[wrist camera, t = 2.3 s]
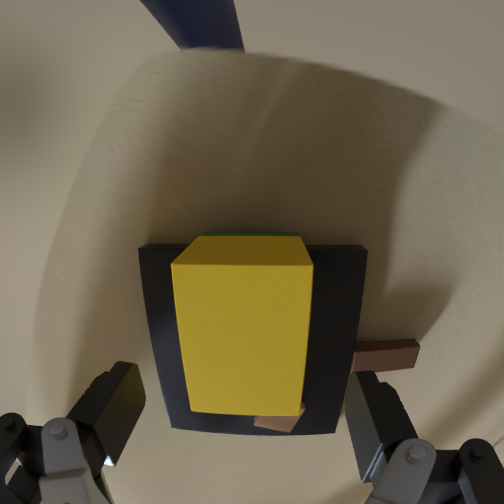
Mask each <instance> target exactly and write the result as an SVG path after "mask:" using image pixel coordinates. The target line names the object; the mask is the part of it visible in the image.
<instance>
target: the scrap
mask: <svg viewBox="0 0 504 504" xmlns="http://www.w3.org/2000/svg"><path fill="white" fill-rule="evenodd" d="M304 410H305V404H304V402H301V408H300V414H299V415H290V416H263V415H256V416H255V418H254V425H255V426H260V427H264V428H269V429H273V430H278V431H284V432H289V433H290V432H291V430H292V429H293V427H294V426H295V424H296V423H297V421H298V420H299V418H300V416H301V415H302V413H303V412H304Z"/></svg>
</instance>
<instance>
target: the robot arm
mask: <svg viewBox="0 0 504 504" xmlns="http://www.w3.org/2000/svg"><path fill="white" fill-rule="evenodd" d="M145 402H146V395H145V390H144V387H143V383H142V379H141V375H140V371H139V368H138V365H137V364H135V363H128V362H122V361H117V362H116V363H115V364H114V366H113V367H112V368H111V370H110V371H109V372H107V371H105V372H104V373H102V374H101V375H99V376H98V377H96V378H95V379H94V381H93V382H92V383H91V384H90V387H89V388H87V390H86V391H85V392H84V394H83V395H82V396H81V398H80V399H79V400H78V402H77V403H76V404H75V406H74V407H73V408H72V410H71V411H70V412H69V414H68V415H67V416H66V418H54V419H52V420H50V421H48V422H47V423H46V424H45V425H44V426H33V425H27V424H26V422H25V421H24V419H23V417H22V416H21V415H19V414H17V413H7V414H4V415H2V416H1V417H0V504H40V503H41V501H42V502H43V504H114V501H113V499H112V496H111V493H110V491H109V488H108V485H107V482H106V480H105V477H104V474H103V471H102V470H101V469H102V467H103V465H104V464H108V465H111V466H114V467H115V466H116V463H117V461H118V459H119V457H120V455H121V453H122V451H123V449H124V447H125V445H126V443H127V441H128V439H129V437H130V435H131V433H132V431H133V429H134V427H135V425H136V423H137V421H138V419H139V417H140V415H141V413H142V411H143V409H144V406H145ZM345 416H346V420H347V424H348V428H349V432H350V436H351V440H352V444H353V448H354V452H355V456H356V460H357V465H358V469H359V473H360V477H361V482H362V483H367V482H372V484H373V488H374V489H373V490H372V492H371V494H370V495H369V497H368V498H367V500H366V501H365V503H364V504H504V468H503V466H502V464H501V462H500V460H499V458H498V456H497V454H496V452H495V451H494V449H493V447H492V446H491V444H490V443H488V442H487V441H485V440H483V439H478V438H474V439H470V440H467V441H466V442H464V443H463V445H462V446H461V447H460V449H459V450H436V449H435V448H434V447H433V445H432V444H431V443H429V442H428V441H426V440H423V439H419V438H418V436H417V433H416V431H415V429H414V427H413V425H412V423H411V421H410V419H409V416H408V414H407V412H406V410H405V409H404V406H403V404H402V402H401V401H400V398H399V396H398V394H397V392H396V390H395V389H394V388H393V387H392V386H390V385H389V384H388V383H387V382H380V383H379V381H378V379H377V376H376V374H375V372H374V371H373V370H368V371H356V372H353V373H352V375H351V379H350V384H349V389H348V393H347V397H346V402H345ZM15 460H17V461H18V463H19V464H20V465H19V466H18V468H17V470H16V471H15V473H14V474H13V476H12V478H11V480H10V481H9V483H8V485H7V486H6V484H5V476H6V474H7V472H8V471H9V469H10V467H11V466H12V464H13V463H14V461H15Z"/></svg>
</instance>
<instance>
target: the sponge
mask: <svg viewBox="0 0 504 504" xmlns="http://www.w3.org/2000/svg"><path fill="white" fill-rule="evenodd" d="M171 269H172V279H173V289H174V299H175V307H176V316H177V324H178V331H179V339H180V346H181V353H182V359H183V366H184V372H185V378H186V384H187V390H188V395H189V401H190V406H191V411H197V412H207V413H219V414H235V415H263V416H290V415H299V414H300V408H301V400H302V392H303V384H304V376H305V367H306V357H307V347H308V337H309V325H310V313H311V300H312V285H313V269H314V265H313V263H312V261H311V258H310V256H309V254H308V252H307V250H306V248H305V245H304V243H303V241H302V239H301V237H300V235H299V233H298V232H203V233H202V234H200V235H199V237H197V238H196V239H195V240H194V241H193V242H192V243H191V244H190V245H189V246H188V247H187V248H186V249H185V250H184V251H183V252H182V253H181V254H180V255H179V256H178V257H177V258H176V259H175V260H174V261H173V262H172V263H171Z"/></svg>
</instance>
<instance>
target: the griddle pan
mask: <svg viewBox="0 0 504 504" xmlns="http://www.w3.org/2000/svg"><path fill="white" fill-rule="evenodd" d="M189 245H190V244H145V245H143V246H142V247H140V248H138V253H139V262H140V271H141V279H142V286H143V293H144V300H145V307H146V313H147V319H148V325H149V331H150V336H151V342H152V347H153V352H154V357H155V362H156V366H157V371H158V376H159V380H160V384H161V389H162V393H163V397H164V401H165V405H166V409H167V413H168V416H169V420H170V424H171V427H172V428H176V429H183V430H191V431H200V432H210V433H222V434H237V435H268V436H284V435H314V434H329V433H335V431H336V427H337V423H338V420H339V416H340V412H341V408H342V404H343V400H344V395H345V391H346V387H347V382H348V377H349V373H351V374H352V373H353V372H356V371H368V370H373V371H374V372H384V371H392V370H400V369H408V368H414V366H415V363H416V360H417V356H418V353H419V350H420V345H419V343H418V342H417V341H416V340H415V338H412V339H402V340H391V341H379V342H365V343H355V342H356V336H357V330H358V324H359V318H360V311H361V304H362V297H363V289H364V281H365V272H366V263H367V252H368V250H367V249H366V248H364V247H363V246H362V245H305V248H306V250H307V252H308V254H309V256H310V258H311V261H312V263H313V265H314V269H313V285H312V300H311V313H310V325H309V337H308V347H307V357H306V367H305V376H304V384H303V392H302V400H301V402H304V404H305V410H304V412H303V413H302V415H301V416H300V418H299V420H298V421H297V423H296V424H295V426H294V427H293V429H292V430H291V432H290V433H289V432H284V431H278V430H273V429H269V428H264V427H260V426H255V425H254V418H255V416H256V415H235V414H219V413H207V412H197V411H191V406H190V401H189V395H188V390H187V384H186V378H185V372H184V366H183V359H182V353H181V346H180V339H179V331H178V324H177V316H176V307H175V299H174V289H173V279H172V269H171V263H172V262H173V261H174V260H175V259H176V258H177V257H178V256H179V255H180V254H181V253H182V252H183V251H184V250H185V249H186V248H187V247H188V246H189Z"/></svg>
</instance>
